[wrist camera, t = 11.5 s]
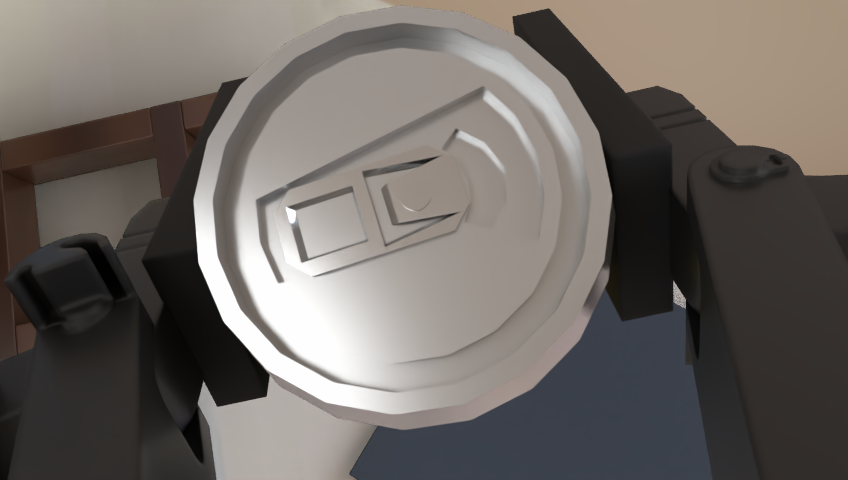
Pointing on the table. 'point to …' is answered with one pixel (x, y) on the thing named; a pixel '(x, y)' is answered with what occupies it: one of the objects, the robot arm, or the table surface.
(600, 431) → the slate mat
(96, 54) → the table surface
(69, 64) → the table surface
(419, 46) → the beer can
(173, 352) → the robot arm
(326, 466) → the table surface
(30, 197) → the can stand
